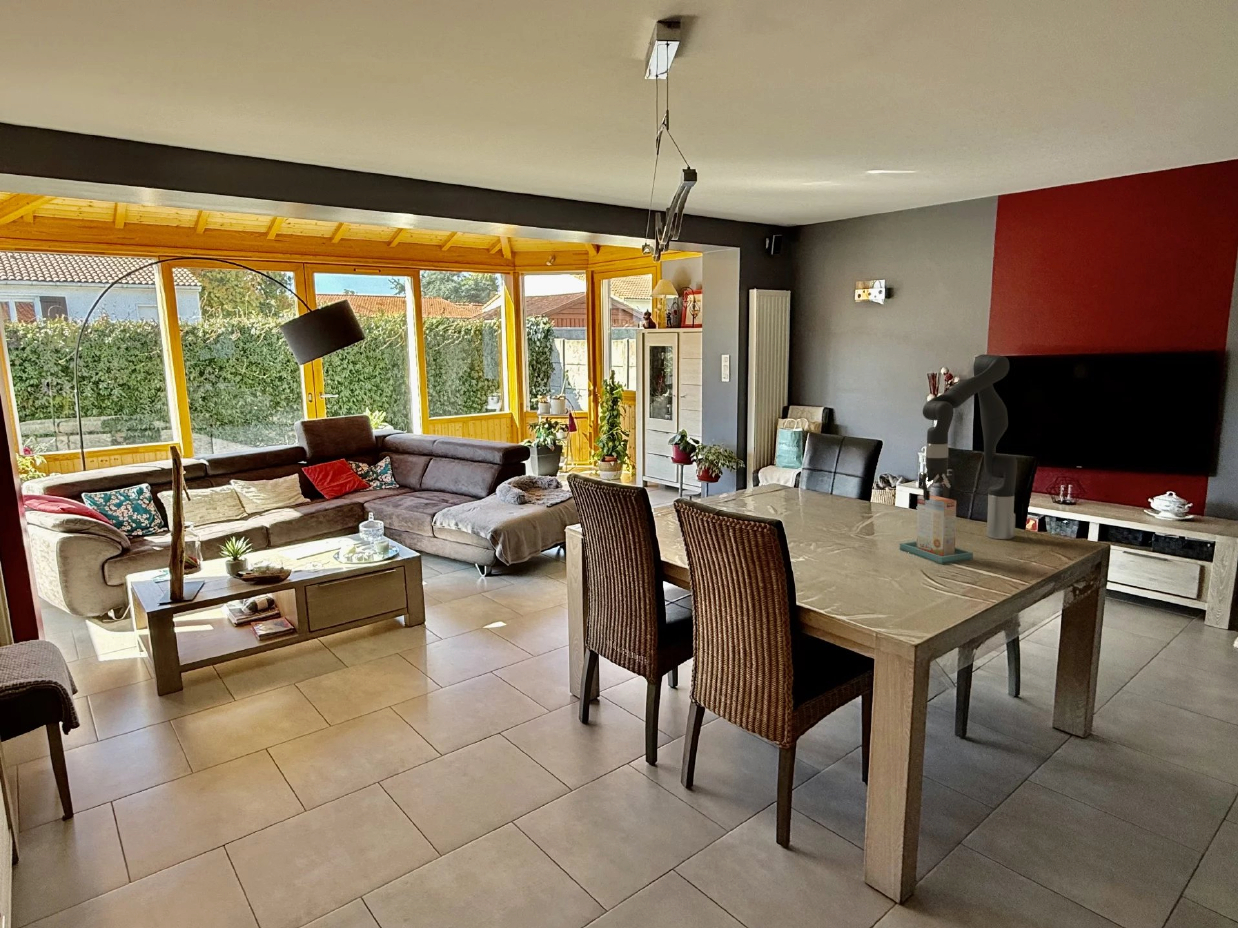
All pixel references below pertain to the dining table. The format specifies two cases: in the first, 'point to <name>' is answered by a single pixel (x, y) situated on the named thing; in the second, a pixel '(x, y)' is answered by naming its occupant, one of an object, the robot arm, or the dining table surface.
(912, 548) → the teal tray
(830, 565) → the dining table surface
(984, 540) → the dining table surface
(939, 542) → the cracker box
